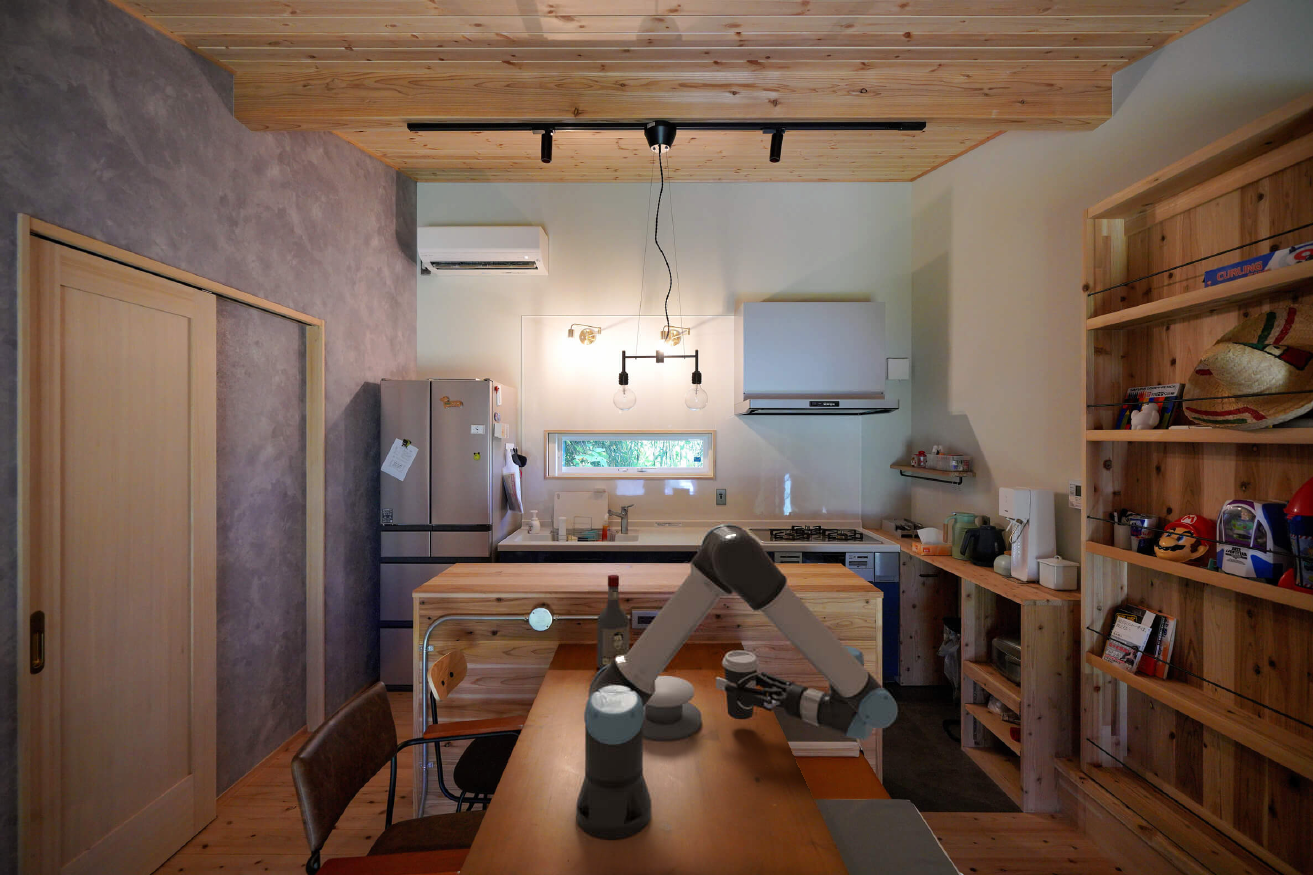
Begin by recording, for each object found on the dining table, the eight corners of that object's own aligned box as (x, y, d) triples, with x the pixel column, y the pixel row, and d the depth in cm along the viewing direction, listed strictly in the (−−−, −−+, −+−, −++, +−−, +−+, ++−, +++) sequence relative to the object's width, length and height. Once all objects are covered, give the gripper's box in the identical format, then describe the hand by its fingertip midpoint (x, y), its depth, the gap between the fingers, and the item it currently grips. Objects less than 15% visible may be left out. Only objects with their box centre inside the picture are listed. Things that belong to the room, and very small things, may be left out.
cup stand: (698, 743, 140) (698, 709, 140) (619, 737, 143) (619, 703, 143) (703, 705, 160) (703, 675, 160) (634, 700, 163) (634, 670, 163)
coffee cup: (757, 705, 153) (757, 649, 152) (760, 723, 143) (760, 664, 143) (721, 703, 154) (721, 648, 153) (722, 721, 144) (722, 663, 144)
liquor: (595, 664, 187) (595, 574, 187) (620, 660, 191) (621, 571, 191) (604, 675, 179) (604, 581, 179) (631, 670, 183) (631, 578, 183)
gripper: (787, 736, 129) (703, 705, 143) (821, 703, 145) (743, 678, 159) (787, 703, 129) (703, 675, 143) (822, 674, 145) (744, 652, 159)
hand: (724, 677), depth 151 cm, fingers closed on coffee cup, 7 cm apart
